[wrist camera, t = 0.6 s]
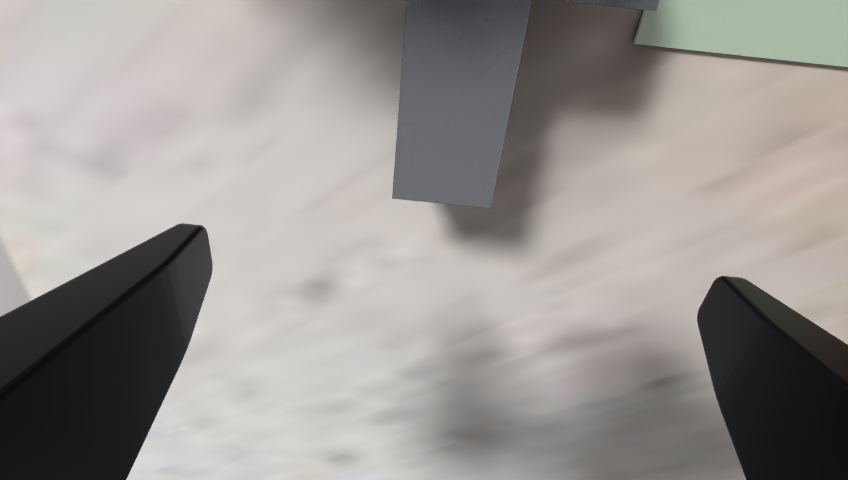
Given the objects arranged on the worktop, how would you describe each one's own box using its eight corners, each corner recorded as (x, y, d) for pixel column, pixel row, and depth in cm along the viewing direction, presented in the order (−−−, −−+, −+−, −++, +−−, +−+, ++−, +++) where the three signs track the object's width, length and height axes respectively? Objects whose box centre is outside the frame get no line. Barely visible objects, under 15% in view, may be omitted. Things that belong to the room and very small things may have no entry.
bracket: (426, -169, 15) (419, -175, 11) (637, -143, 15) (705, -141, 11) (402, 129, 21) (392, 198, 16) (560, 145, 21) (588, 218, 17)
